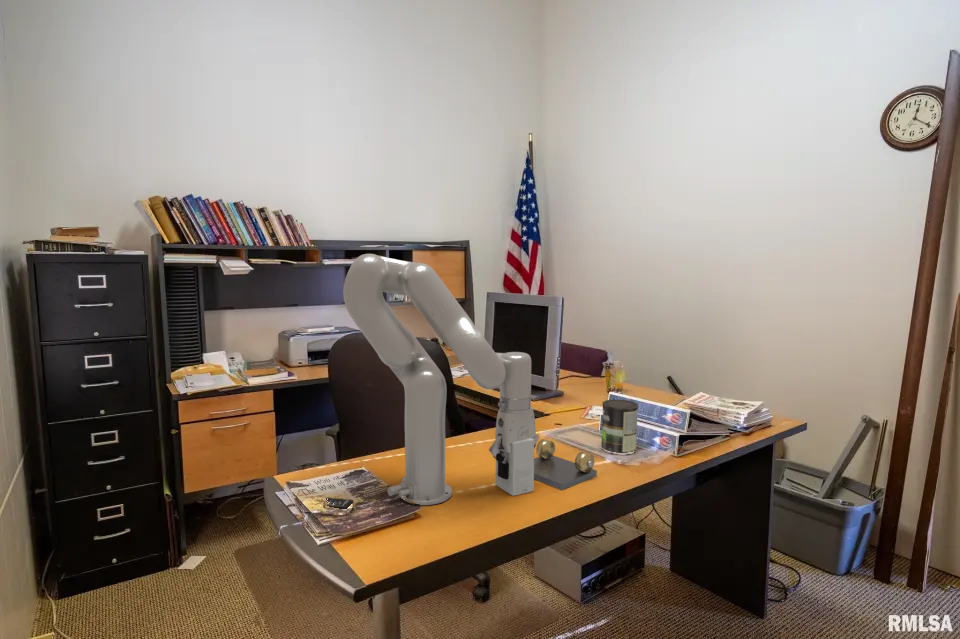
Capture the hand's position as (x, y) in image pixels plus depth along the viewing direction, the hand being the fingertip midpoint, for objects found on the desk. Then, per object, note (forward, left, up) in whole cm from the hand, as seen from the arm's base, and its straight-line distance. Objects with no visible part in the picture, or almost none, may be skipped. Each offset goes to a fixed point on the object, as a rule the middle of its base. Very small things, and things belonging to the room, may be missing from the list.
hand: (514, 473), depth 140 cm
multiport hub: (-41, +19, -4) cm, 45 cm away
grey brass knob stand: (+15, 0, -4) cm, 15 cm away
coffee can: (+44, 0, -4) cm, 44 cm away
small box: (0, 0, -4) cm, 4 cm away
